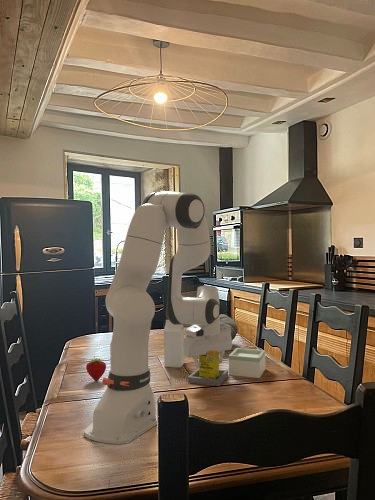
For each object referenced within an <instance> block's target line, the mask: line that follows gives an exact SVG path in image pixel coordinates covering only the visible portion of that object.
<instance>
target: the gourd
mask: <svg viewBox="0 0 375 500" xmlns="http://www.w3.org/2000/svg"><path fill="white" fill-rule="evenodd" d="M219 318H220V327H221V326H228V327H230V329H231V338H232V342H233V340H235V338H236V336H237V335H238V330H239V328H238V325H237V322H236V321H235V320H234V319H232V318H231V317H230V316H228V315H227V314H224V313H223V314H222V313H221V314H219ZM192 325H193V324H189V326H188V327H187V328H189V327H191V326H192Z"/></svg>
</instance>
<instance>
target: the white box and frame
mask: <svg viewBox="0 0 375 500" xmlns="http://www.w3.org/2000/svg"><path fill="white" fill-rule="evenodd" d="M265 370H266V350H264V349H256V348H255V349H254V348H241V347H236V348H234V349H233V351H231V353H229V355H228V370H227V369H219V378H218V379H210V378H201V377H199V368H196V369H195V370H194V371H192V373H190V375H188V376H187V383H191V384H198V385H199V384H200V385H206V384H208V386H214V385H216V386H217V387H220V386H221V385H220V384H223V383H224V381H225V380H226V379H227V378H228V376H235V377H236V376H237V377H245V378H254V379H255V378H257V379H260V378H261V376H262V375H263V373H264V372H265Z"/></svg>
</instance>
